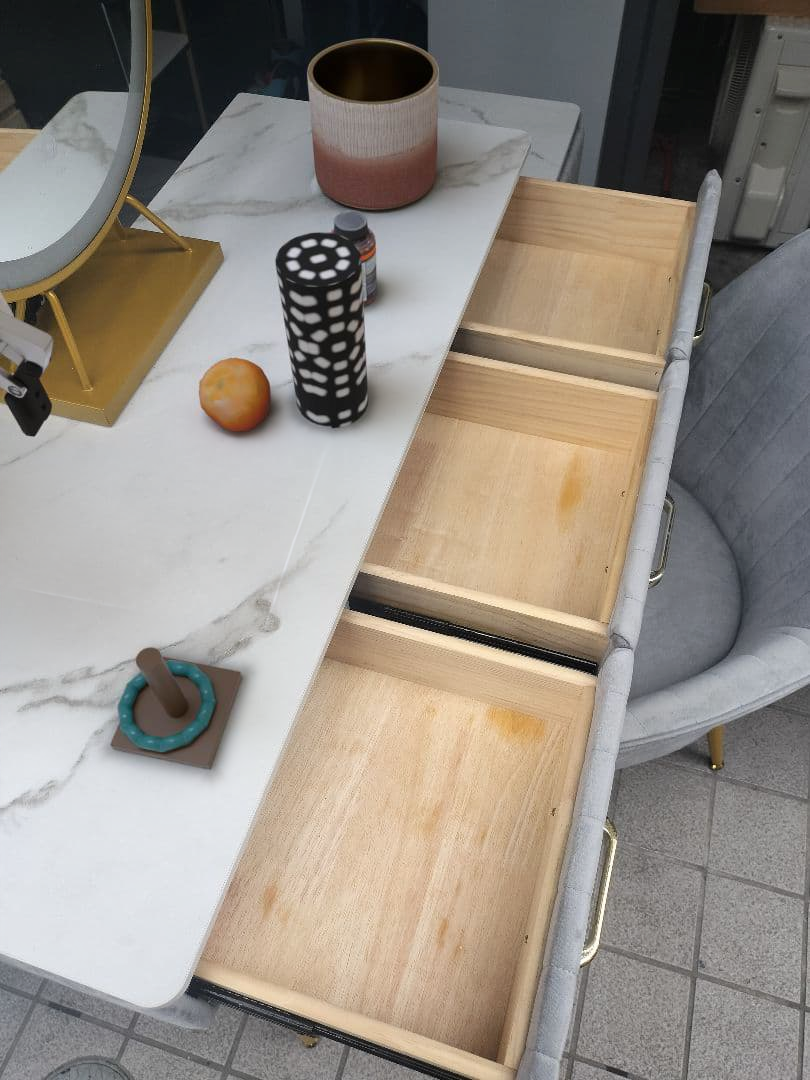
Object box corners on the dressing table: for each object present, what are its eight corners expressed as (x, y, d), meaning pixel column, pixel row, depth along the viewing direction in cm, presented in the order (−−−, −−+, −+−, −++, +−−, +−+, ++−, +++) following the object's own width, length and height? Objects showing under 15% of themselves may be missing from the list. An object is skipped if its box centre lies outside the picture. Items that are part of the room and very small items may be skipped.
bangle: (105, 742, 71) (101, 737, 70) (141, 657, 76) (138, 651, 75) (197, 761, 70) (194, 756, 69) (228, 673, 75) (225, 667, 74)
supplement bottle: (322, 298, 106) (314, 221, 96) (351, 275, 109) (346, 198, 99) (357, 317, 104) (353, 240, 94) (386, 293, 107) (385, 216, 97)
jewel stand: (113, 749, 72) (71, 699, 63) (151, 659, 77) (117, 600, 68) (210, 770, 71) (182, 722, 62) (242, 677, 76) (220, 619, 67)
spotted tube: (311, 438, 92) (292, 296, 76) (287, 389, 97) (263, 245, 80) (379, 416, 94) (374, 272, 78) (352, 369, 99) (342, 224, 82)
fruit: (300, 396, 94) (265, 371, 87) (260, 451, 95) (222, 431, 87) (254, 362, 97) (216, 335, 90) (216, 416, 98) (175, 393, 90)
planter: (338, 138, 127) (330, 29, 114) (448, 156, 124) (454, 46, 111) (299, 204, 117) (286, 93, 104) (418, 224, 115) (420, 114, 102)
